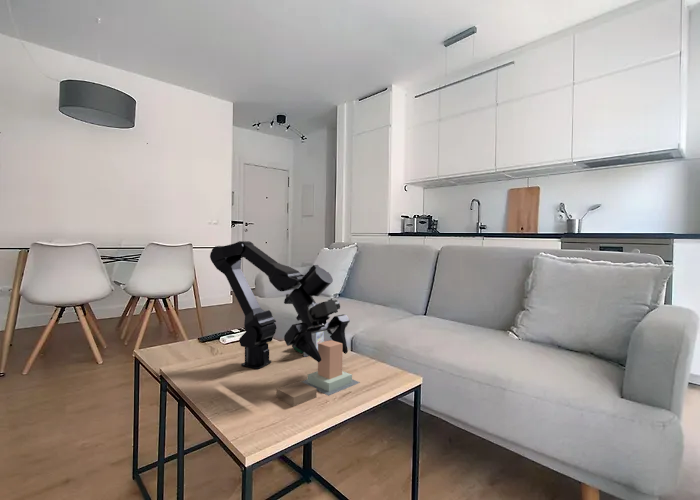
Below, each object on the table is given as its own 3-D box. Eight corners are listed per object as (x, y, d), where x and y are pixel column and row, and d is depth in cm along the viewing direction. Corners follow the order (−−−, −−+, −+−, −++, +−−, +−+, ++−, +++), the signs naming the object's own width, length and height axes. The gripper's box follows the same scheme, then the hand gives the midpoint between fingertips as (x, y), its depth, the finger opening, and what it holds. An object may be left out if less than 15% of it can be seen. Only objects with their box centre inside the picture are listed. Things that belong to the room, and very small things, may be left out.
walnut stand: (276, 401, 82) (276, 388, 82) (298, 393, 87) (298, 380, 87) (293, 411, 77) (293, 397, 77) (316, 401, 82) (316, 388, 82)
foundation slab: (307, 382, 91) (307, 374, 91) (330, 374, 97) (330, 366, 97) (329, 391, 85) (329, 383, 85) (352, 382, 91) (352, 374, 91)
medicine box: (316, 358, 112) (316, 331, 112) (303, 357, 113) (303, 330, 113) (324, 351, 120) (324, 325, 120) (311, 350, 121) (311, 324, 121)
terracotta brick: (317, 374, 91) (318, 343, 91) (330, 370, 94) (330, 340, 94) (329, 379, 88) (329, 347, 88) (342, 374, 91) (342, 343, 91)
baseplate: (299, 386, 91) (299, 382, 91) (330, 374, 99) (330, 371, 99) (328, 399, 83) (328, 395, 83) (360, 386, 91) (360, 382, 91)
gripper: (291, 291, 86) (321, 346, 79) (345, 285, 100) (375, 332, 92) (272, 319, 92) (298, 372, 85) (325, 309, 105) (352, 355, 98)
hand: (333, 356), depth 90 cm, fingers open, 9 cm apart
